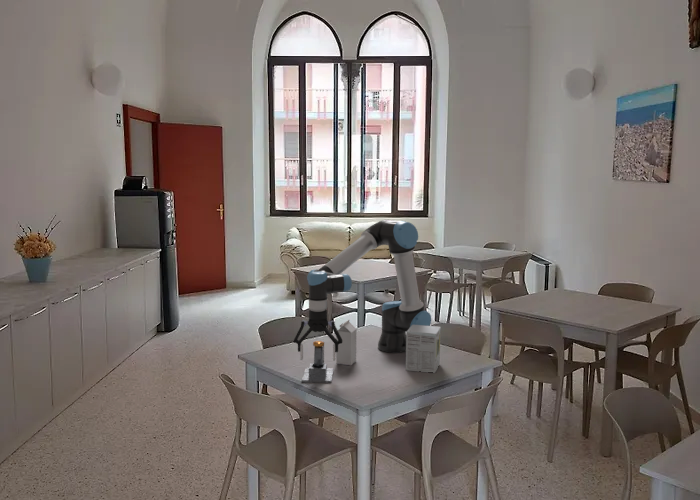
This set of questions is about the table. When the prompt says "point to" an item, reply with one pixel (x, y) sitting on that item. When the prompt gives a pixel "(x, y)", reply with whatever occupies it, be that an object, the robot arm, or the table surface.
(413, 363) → the supplement box
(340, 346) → the milk carton
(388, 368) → the table surface
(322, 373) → the post on square base
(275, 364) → the table surface
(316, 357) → the grey cylinder orange top
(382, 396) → the table surface
